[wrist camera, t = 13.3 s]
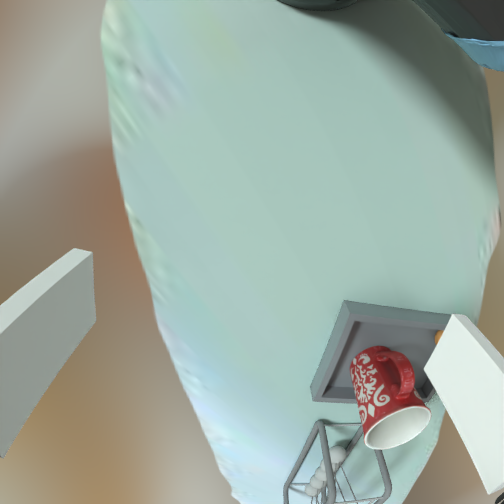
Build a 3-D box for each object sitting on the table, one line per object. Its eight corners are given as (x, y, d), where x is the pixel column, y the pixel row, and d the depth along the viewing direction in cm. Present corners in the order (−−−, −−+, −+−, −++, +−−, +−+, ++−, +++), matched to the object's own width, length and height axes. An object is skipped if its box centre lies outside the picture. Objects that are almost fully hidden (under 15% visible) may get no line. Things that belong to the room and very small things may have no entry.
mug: (391, 381, 45) (417, 443, 32) (339, 387, 45) (357, 455, 32) (410, 317, 40) (452, 378, 28) (352, 321, 40) (383, 391, 28)
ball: (436, 323, 41) (445, 334, 38) (451, 324, 41) (460, 335, 38) (428, 340, 42) (436, 352, 39) (442, 341, 42) (451, 352, 39)
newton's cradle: (324, 485, 59) (331, 544, 42) (282, 486, 59) (285, 547, 42) (371, 414, 48) (395, 493, 32) (317, 414, 48) (331, 501, 32)
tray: (343, 300, 40) (349, 313, 37) (462, 316, 41) (472, 327, 38) (310, 386, 45) (312, 401, 42) (421, 389, 46) (428, 402, 43)
